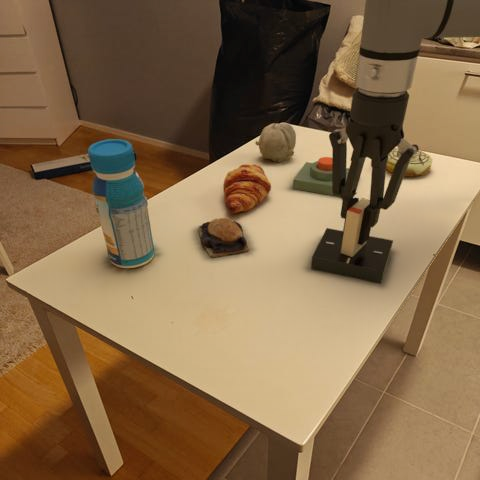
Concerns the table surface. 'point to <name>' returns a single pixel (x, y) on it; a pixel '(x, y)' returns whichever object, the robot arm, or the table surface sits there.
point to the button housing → (314, 179)
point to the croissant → (245, 187)
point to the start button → (325, 164)
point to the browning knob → (353, 228)
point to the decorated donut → (411, 163)
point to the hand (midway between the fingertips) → (355, 238)
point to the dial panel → (360, 265)
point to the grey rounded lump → (277, 142)
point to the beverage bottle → (121, 203)
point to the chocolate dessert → (222, 237)
